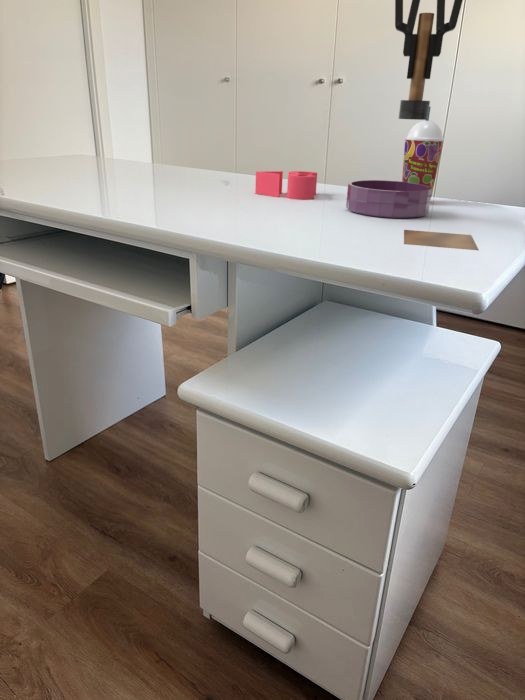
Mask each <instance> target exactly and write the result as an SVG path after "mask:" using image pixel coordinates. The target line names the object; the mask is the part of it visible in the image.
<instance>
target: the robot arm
mask: <svg viewBox="0 0 525 700" xmlns="http://www.w3.org/2000/svg"><path fill="white" fill-rule="evenodd" d="M463 1H464V0H453V5H452V9H451V12H450V16H449V20H448V22H446V23H445V20H446V19H445V16H446V13H445V12H446V0H436V19H435V33H432V34H431V41H430V48H429V56H428V63H427V71H426V78H425V80H430V79H431V74H432V67H433V60H434V58H435V57H436V58H437V57H438V58H439V57H440V55H441V54H442V47H443V41H444V35H445V34H447V33H449V32H452V31H454V30H455V28H456V27H457V24H458V21H459V16H460V12H461V8H462V5H463ZM420 3H421V0H411V3H410V8H409V12H408V17H407V22H406V23H405V22H404V0H394V4H395V5H394V26H395V27H394V28H395V30H396V31H397V32H400V33H403V35H404V41H403V49H402V55H403V57H407V58H408V63H407V64H408V65H407V72H406V73H407V74H406V80H411V77H412V70H413V62H414V54H415V46H416V38H417V33H414V29H415V26H416V21H417V17H418V12H419V9H420Z"/></svg>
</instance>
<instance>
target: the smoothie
mask: <svg viewBox="0 0 525 700" xmlns="http://www.w3.org/2000/svg"><path fill="white" fill-rule="evenodd" d="M430 113H431V106H429V113H428V119H427V120H420V121H418V122H417V123H415V124H414V125H413V126H411V128H410V129H409V131H408V132H407V135H406V136H405V137H404V148H403V149H404V150H403V163H402V179H401V181H402V182H411V183H418V184H423V185H427V186H430V187H432V194H431V197H432V195H433V191H434V186H435V182H436V178H437V173H438V169H439V164H440V159H441V155H442V151H443V150H442V149H443V147H444V141H445V138H444V135H443V132H442V129H441V127H440V126H439V125H438V123H436V122H434V121H432V120H430Z"/></svg>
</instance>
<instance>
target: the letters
mask: <svg viewBox="0 0 525 700" xmlns="http://www.w3.org/2000/svg"><path fill="white" fill-rule="evenodd" d="M283 173H284V171H283V170H276V171H275V170H269V171H266V170H265V171H263V170H262V171H255V191H254V192H255V193H254V194H256V195H261V194H262V195H263V196H268V195H269V197H274V198H275V197H276V198H279V197H280V194H282V193H283V177H284V176H283V175H284V174H283ZM317 182H318V172H316V171H302V170H301V171H300V170H299V171H298V170H295V171H292V170H291V171H288V174H287V189H286V198H287V199H292V200H315V195H317V194H316V193H317Z"/></svg>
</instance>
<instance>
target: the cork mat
mask: <svg viewBox="0 0 525 700" xmlns="http://www.w3.org/2000/svg"><path fill="white" fill-rule="evenodd" d="M403 245H409V246H410V245H411V246H421V247H432V248H434V247H435V248H443V249H445V248H446V249H456V250H457V249H458V250H466V251H467V250H470V251H480V250H479V248H478V246H477V244H476V242H475V239H474V238H473V236H472V234H465V233H451V232H440V231H439V232H438V231H428V230H427V231H425V230H413V229H403Z"/></svg>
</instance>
